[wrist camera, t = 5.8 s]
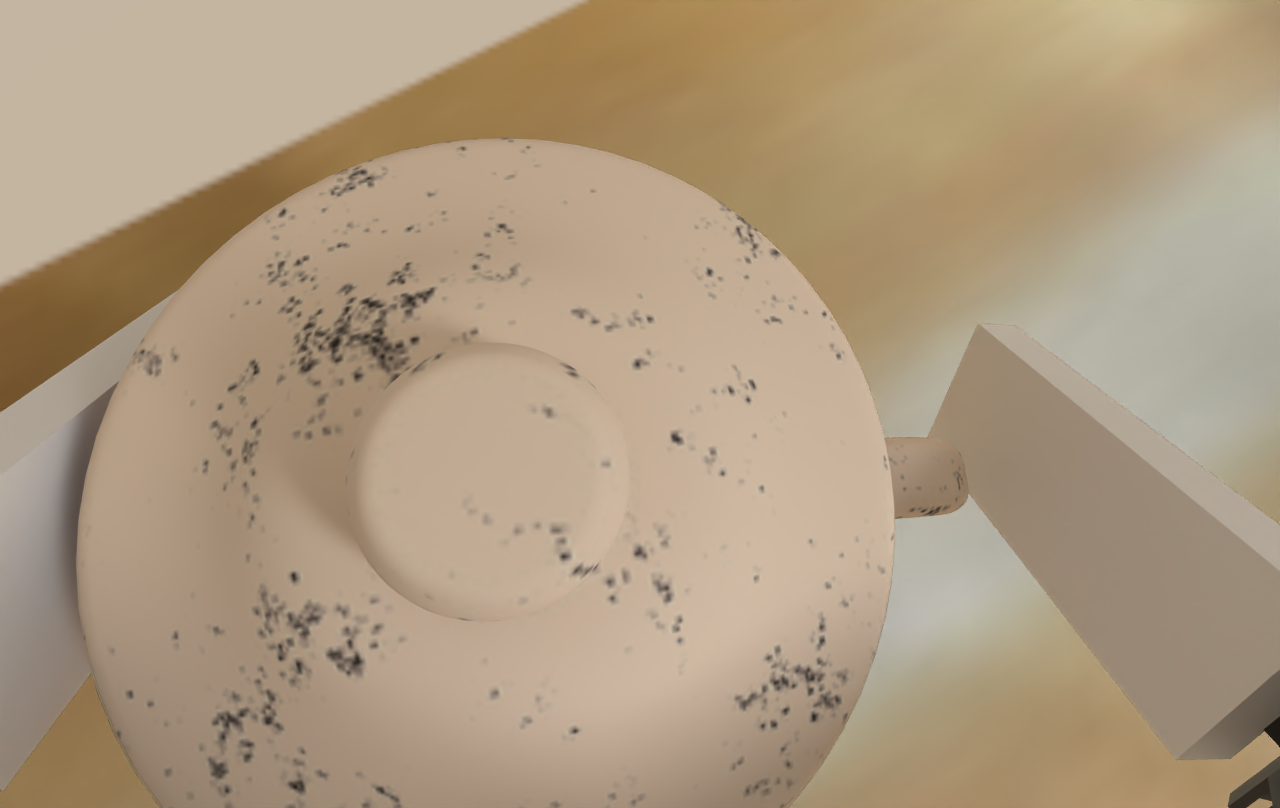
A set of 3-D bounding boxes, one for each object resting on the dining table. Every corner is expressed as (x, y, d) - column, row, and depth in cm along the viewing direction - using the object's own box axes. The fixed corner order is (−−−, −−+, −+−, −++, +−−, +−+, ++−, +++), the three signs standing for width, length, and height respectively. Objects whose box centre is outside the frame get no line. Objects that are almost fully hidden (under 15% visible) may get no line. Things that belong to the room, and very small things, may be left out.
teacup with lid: (356, 724, 14) (-584, 1601, 3) (364, 346, 16) (-179, -128, 4) (847, 671, 15) (1625, 1080, 4) (805, 332, 17) (1265, -46, 6)
